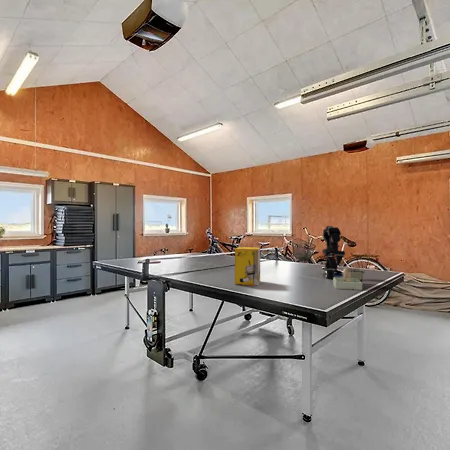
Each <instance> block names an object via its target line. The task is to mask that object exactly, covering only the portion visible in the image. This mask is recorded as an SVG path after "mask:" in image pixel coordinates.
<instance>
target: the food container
mask: <svg viewBox="0 0 450 450" xmlns="http://www.w3.org/2000/svg"><path fill="white" fill-rule="evenodd" d="M350 269H351V278H354V279H359V280H360V281H361V282H362V284H363V282H364V274H365V271H364V269H361V268H350Z"/></svg>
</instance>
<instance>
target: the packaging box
mask: <svg viewBox="0 0 450 450" xmlns="http://www.w3.org/2000/svg"><path fill="white" fill-rule="evenodd" d="M260 282H261V247H254V246H253V247H252V246H251V247H249V246H247V247H242V246H241V247H239V246H238V247H236V248H235V249H234V285H235V284H242V285H241V286H255V285H258V286H259V284H260Z"/></svg>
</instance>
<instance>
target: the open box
mask: <svg viewBox="0 0 450 450" xmlns="http://www.w3.org/2000/svg"><path fill="white" fill-rule="evenodd" d="M332 284H333V287H334V289H336V290H337V289H338V290H339V289H340V290H352V289H354V290H355V291H362V290H363V283H362V282H361V281H360V280H359V279H354V278H351V282H344V277H335V278H333V279H332Z"/></svg>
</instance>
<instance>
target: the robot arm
mask: <svg viewBox="0 0 450 450" xmlns="http://www.w3.org/2000/svg"><path fill="white" fill-rule="evenodd" d="M322 231H323V232H322V238H323V240H324V242H325V244H326V245H325V246H326V248H323V249H321V251H322V254H323V257H325V258H326V260H325V262H324V269H323V270H324V271H325V272H326V276H325V279H327V280H333V278H336V277H335V272H337V271H338V266H340V264H341V262H342V260H343V258H344V256H345V255H346V251H344V250H339V248H340V245H339V243H340V241H341V239H342V238H341V235H342V233H341V230H340V228H339V227H337V226H336V227H334V226H333V225H327V226H325V229H324V230H322Z"/></svg>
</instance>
